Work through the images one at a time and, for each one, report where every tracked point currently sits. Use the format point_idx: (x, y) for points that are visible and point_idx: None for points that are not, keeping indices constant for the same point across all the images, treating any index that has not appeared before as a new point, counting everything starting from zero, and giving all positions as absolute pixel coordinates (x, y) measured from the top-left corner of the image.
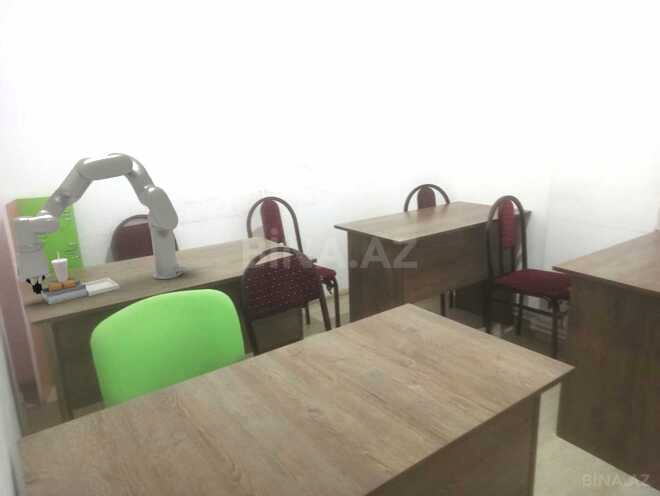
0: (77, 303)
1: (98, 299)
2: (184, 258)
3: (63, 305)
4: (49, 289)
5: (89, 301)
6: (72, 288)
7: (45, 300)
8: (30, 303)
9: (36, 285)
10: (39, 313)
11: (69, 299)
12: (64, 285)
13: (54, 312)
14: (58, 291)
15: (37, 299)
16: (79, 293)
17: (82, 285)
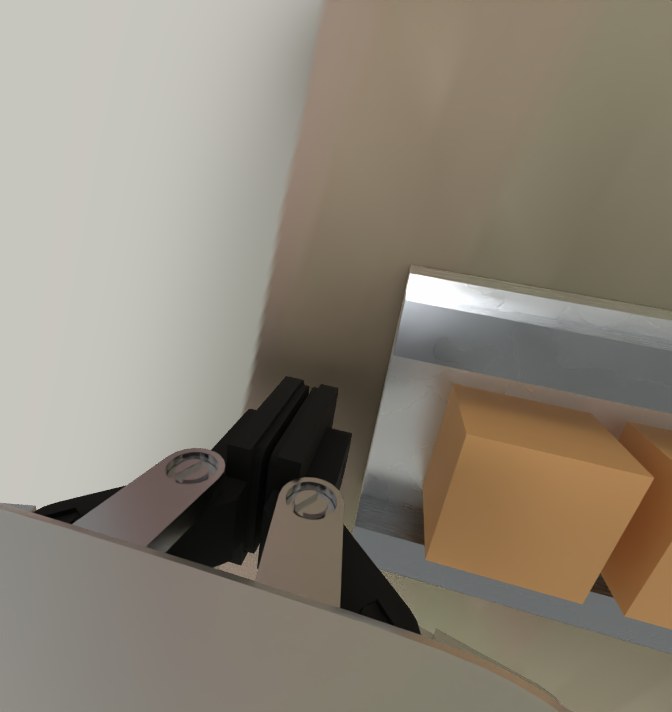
0: (503, 638)
1: (651, 706)
2: None
3: (419, 587)
4: (446, 441)
5: (581, 680)
6: (630, 635)
7: (390, 356)
8: (271, 307)
9: (243, 555)
10: (250, 572)
11: None
12: (613, 590)
13: None
14: (467, 588)
15: (358, 239)
16: None
17: None
